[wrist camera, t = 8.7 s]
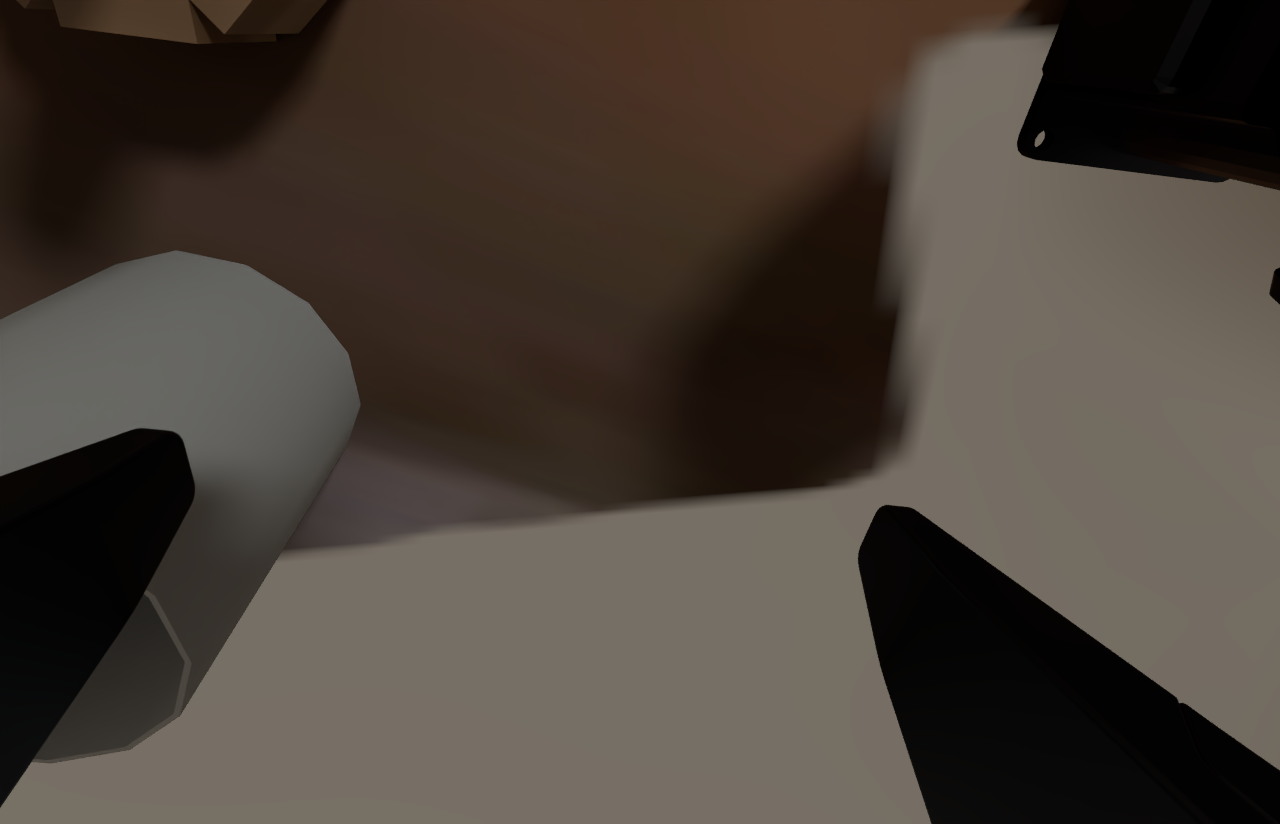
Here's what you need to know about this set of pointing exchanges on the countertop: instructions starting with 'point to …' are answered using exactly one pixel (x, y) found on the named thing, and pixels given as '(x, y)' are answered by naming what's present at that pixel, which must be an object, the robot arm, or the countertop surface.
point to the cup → (215, 444)
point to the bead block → (185, 18)
